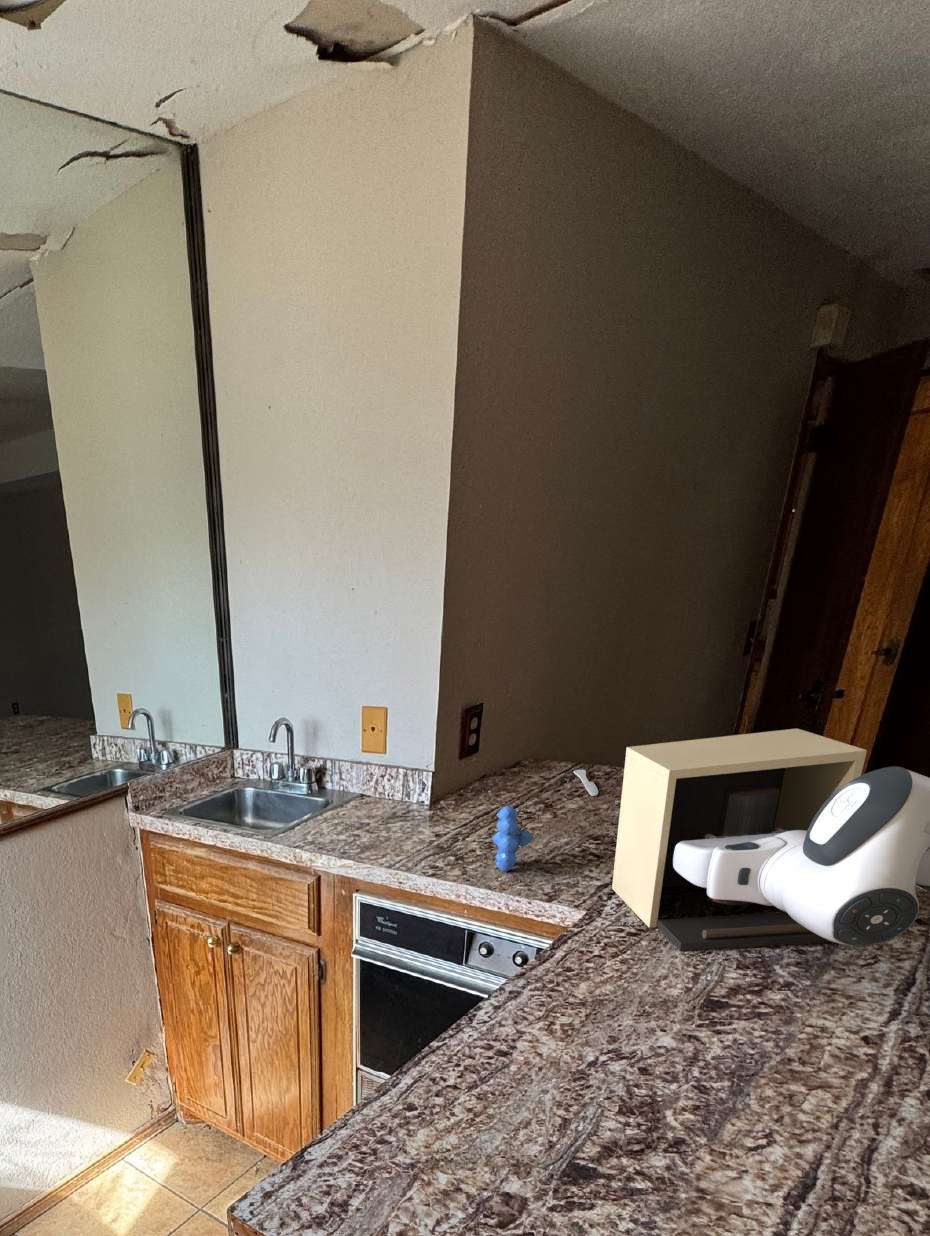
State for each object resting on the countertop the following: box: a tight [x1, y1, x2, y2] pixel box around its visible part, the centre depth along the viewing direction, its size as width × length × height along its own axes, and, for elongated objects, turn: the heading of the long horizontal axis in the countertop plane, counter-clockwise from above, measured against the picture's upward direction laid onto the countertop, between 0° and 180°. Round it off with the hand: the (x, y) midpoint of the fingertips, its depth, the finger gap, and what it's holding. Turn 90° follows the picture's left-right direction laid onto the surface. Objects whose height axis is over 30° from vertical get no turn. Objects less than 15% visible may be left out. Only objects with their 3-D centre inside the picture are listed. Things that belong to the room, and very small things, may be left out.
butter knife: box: [573, 769, 599, 797], centre depth 178 cm, size 1×24×3 cm
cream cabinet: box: [611, 728, 868, 952], centre depth 106 cm, size 22×24×22 cm
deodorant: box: [707, 785, 780, 906], centre depth 105 cm, size 6×6×15 cm
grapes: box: [491, 805, 535, 872], centre depth 134 cm, size 12×7×12 cm, turn 161°
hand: (739, 836), depth 105 cm, fingers closed on deodorant, 6 cm apart
